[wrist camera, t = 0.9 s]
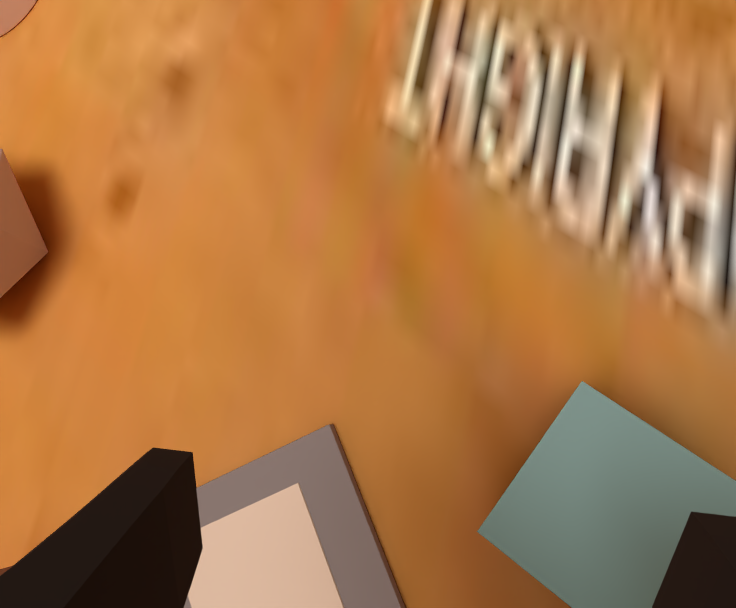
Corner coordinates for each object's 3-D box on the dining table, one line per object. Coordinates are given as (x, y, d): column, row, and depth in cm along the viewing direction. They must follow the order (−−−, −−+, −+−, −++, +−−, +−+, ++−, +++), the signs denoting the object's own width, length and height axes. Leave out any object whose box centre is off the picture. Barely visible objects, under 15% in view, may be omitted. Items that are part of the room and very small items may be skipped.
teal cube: (723, 480, 20) (766, 501, 15) (632, 608, 20) (646, 668, 15) (582, 388, 21) (581, 380, 17) (500, 506, 22) (476, 531, 17)
